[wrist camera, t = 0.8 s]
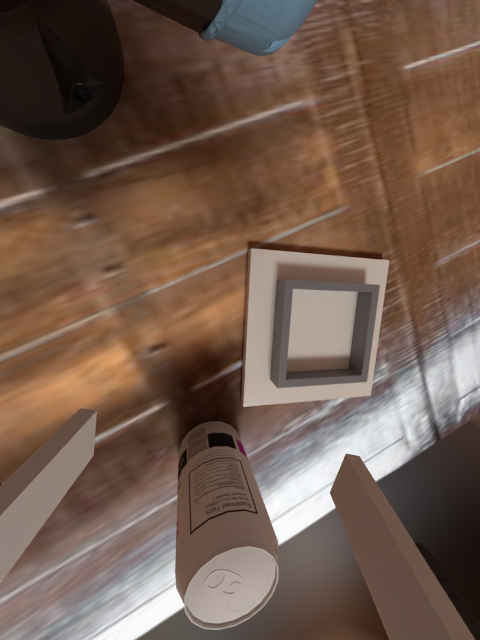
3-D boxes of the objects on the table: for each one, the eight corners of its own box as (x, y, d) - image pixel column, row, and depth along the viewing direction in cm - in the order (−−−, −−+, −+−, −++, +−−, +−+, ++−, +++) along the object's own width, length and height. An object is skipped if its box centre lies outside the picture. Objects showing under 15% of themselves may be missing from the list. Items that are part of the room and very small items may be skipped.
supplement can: (251, 435, 32) (306, 559, 18) (214, 482, 32) (240, 647, 17) (205, 406, 30) (226, 522, 15) (165, 457, 29) (148, 623, 15)
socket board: (248, 249, 28) (257, 244, 24) (382, 261, 33) (406, 258, 29) (240, 402, 31) (248, 417, 27) (364, 392, 36) (384, 404, 32)
